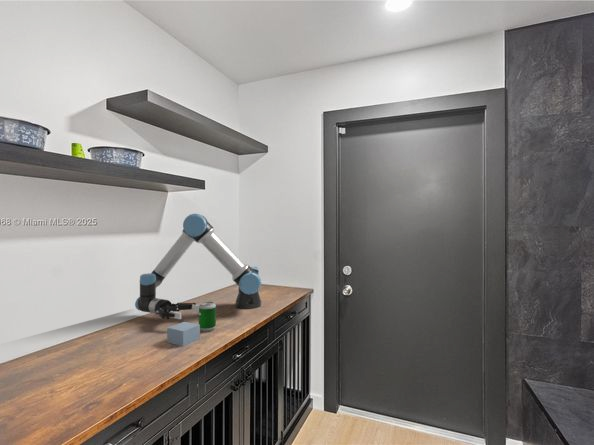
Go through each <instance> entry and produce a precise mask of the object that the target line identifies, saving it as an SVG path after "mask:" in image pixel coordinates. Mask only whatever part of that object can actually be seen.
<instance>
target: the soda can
mask: <svg viewBox="0 0 594 445" xmlns="http://www.w3.org/2000/svg"><path fill="white" fill-rule="evenodd" d="M198 324H199V325H200V332H204V333H205V332H212V331H214V330H215V328H216V327H217V305H216V304H215V302H213V301H203V302H201V303H200V304H199V311H198Z"/></svg>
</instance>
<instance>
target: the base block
mask: <svg viewBox="0 0 594 445" xmlns="http://www.w3.org/2000/svg"><path fill="white" fill-rule="evenodd" d="M166 328H167V330H166V332H167V333H166V334H167V338H166V339H167V341H166V342H167V343H169V344H172V345H175V346H176V345H177V346H181V347H184V346H187V345H189V344H191V343H194V342H196V341H199V340H200V339H201V337H200V336H201V333H200V332H201V330H200V325H199V323H194V322H193V323H192V322H188V321H182V322H179V323H175V325H171V326H168V327H166Z"/></svg>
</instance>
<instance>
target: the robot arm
mask: <svg viewBox="0 0 594 445" xmlns="http://www.w3.org/2000/svg"><path fill="white" fill-rule="evenodd" d="M182 222H183V223H182V226H183V229H182V234H181V235H180V236H179V237H178V238H177V240H176V241H175V243H173V245H172V246H171V247H170V249H169V250H168V251H167V252H166V254H165V255H164V256H163V258H162V259H161V260H160V262H159V263H158V264H157V265H156V266H155V268H154V269H153V270H152V272H151V273H143V274H141V275H140V276H139V296H138V298H136V301H135V304H134V306H135V308H136V310H138V311H141V312H143V313H150V314H154V315H157V316H159V317H161V318H162V319H166V320H169V319H170V318H171V319H176V320H182V312H180V311H186V310H187V311H188V310H189V311H190V310H191V311H194V312H199V305H200V304H199V305H198V304H197V303H196V302H177V303H172V302H171V301H170V300H168V299H163V298H157V295H156V293H157V292H156V290H157V288H158V287H159V286H160V285H161V284H162V283H163V281H164V280H165V278H166V277H167V276H168V274H169V273H170V272H171V271H172V269H173V268H174V267H175V265H177V264H178V262H179V260H181V258H182V257H183V256H184V254H185V253H186V251H187V250H188V249H189V248H190V247H191V246H192V244H193V243H194V242H196V243H197V244H201V245H203V247H205V249H206V250H208V252H210V254H211V255H212V256H213V257H214V258H215V259H216V260H217V261H218V262H219V263H220V264H221V265H222V266H223V267H224V268H225V269H226V270H227V271H228V273H229V274H230V275H231V276H232V277H231V278H232V281H233V282H234V283H235V284H236V286H238V293H237V296H236V301H235V307H236V308H238V309H243V310H244V309H248V310H249V309H256V308H259V307H261V306H262V300H261V295H260V293H259V291H260V290H259V289H260V288H261V286H262V279H261V277H260V275H259V273H260V272H259V267H258V266H250V265H249V264H244V263H243V261H242V260H240V258H239V257H238V256H237V255H236V254H235V253H234V252H233V251H232V250H231V249H230V248H229V247H228V246H227V245H226V243H225V242H224V241H222V239H221V238H220V237H219V236H218V235H217V234H216V233H215V227H213V226H212V224H210V222H209V221H208V219H207V218H206V217H205V216H204V215H202V214H200V213H191V214H189V215H188V216H186V217H185V218H184V220H183V221H182Z"/></svg>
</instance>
